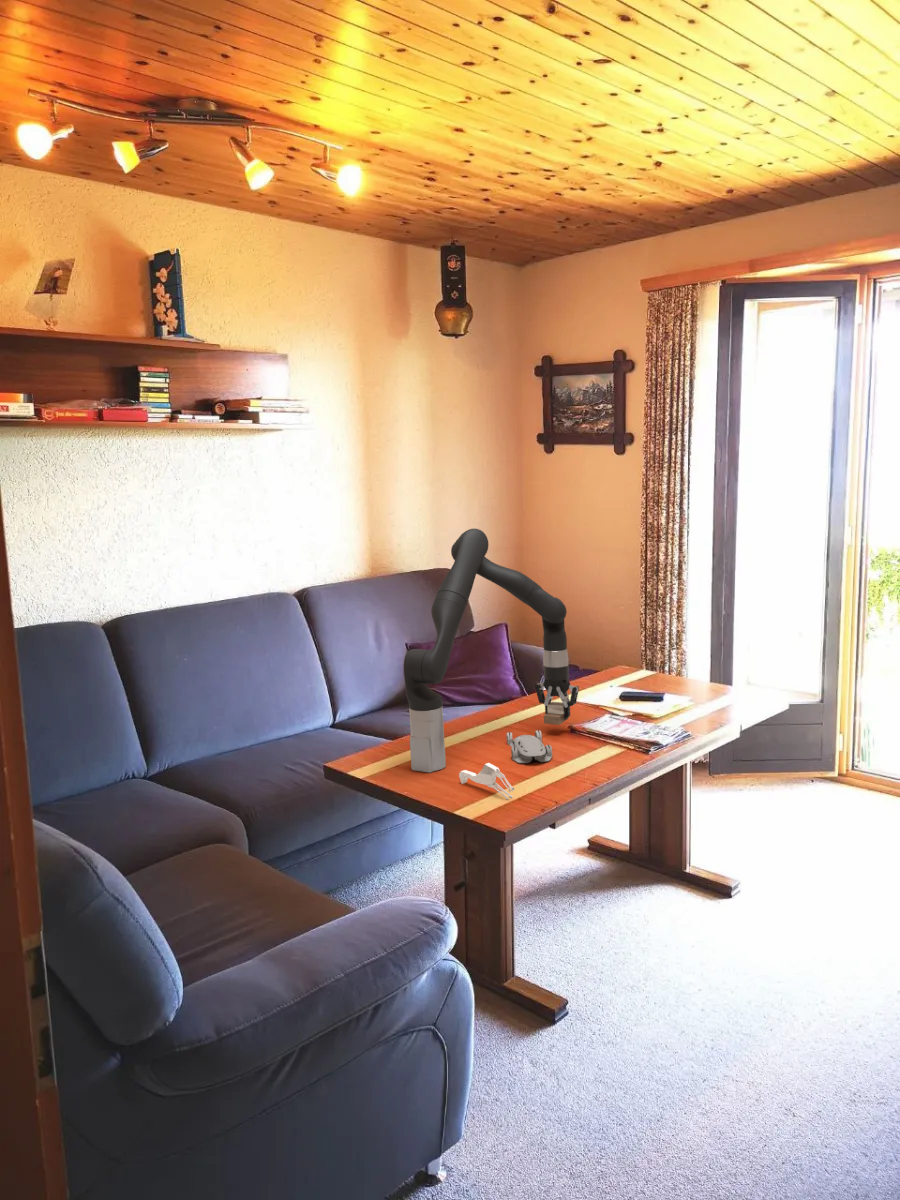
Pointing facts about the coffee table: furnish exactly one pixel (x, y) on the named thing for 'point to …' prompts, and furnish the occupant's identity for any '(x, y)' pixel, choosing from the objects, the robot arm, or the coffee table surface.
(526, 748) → the car model
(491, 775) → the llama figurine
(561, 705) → the chock
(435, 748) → the robot arm
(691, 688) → the coffee table surface
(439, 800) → the coffee table surface
